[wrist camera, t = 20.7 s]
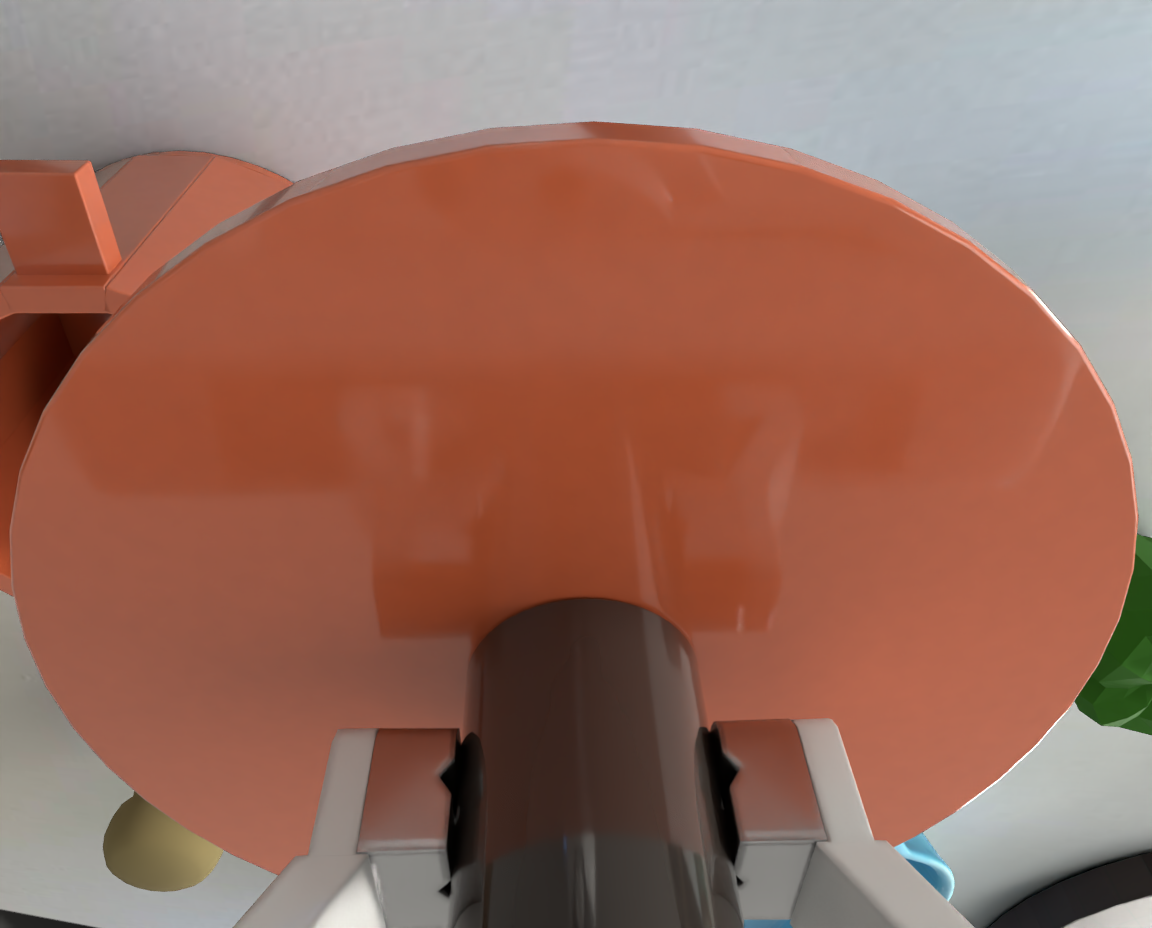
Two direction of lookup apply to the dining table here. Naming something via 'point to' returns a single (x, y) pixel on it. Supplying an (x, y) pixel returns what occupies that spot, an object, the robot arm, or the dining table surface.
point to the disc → (1091, 900)
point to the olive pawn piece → (155, 849)
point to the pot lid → (573, 507)
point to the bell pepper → (1126, 658)
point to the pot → (90, 266)
